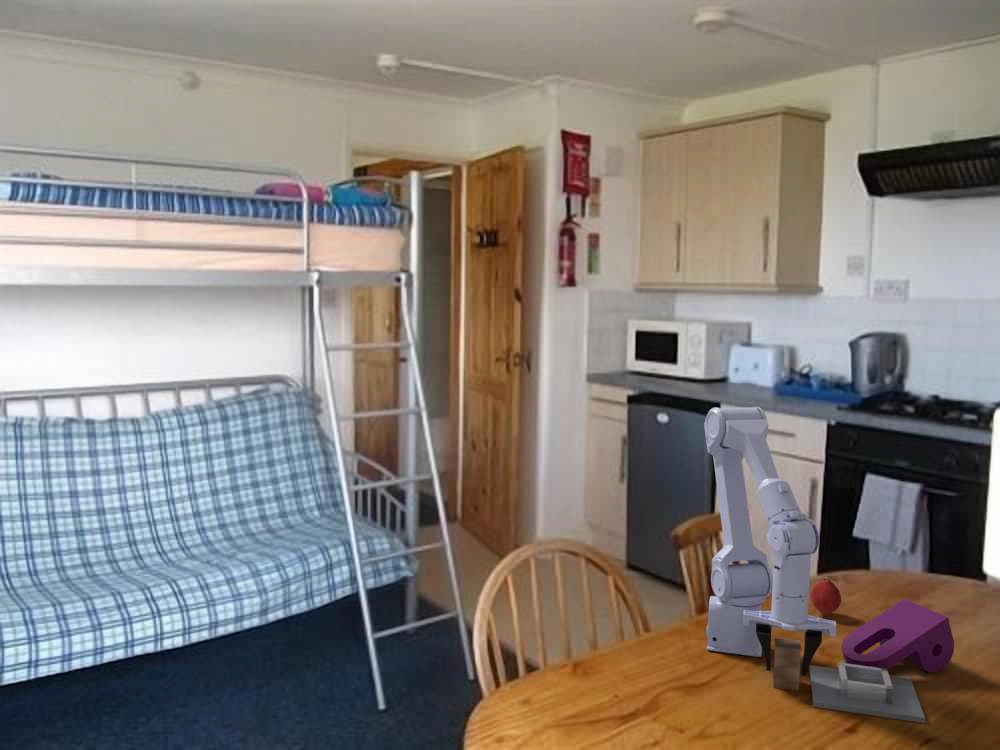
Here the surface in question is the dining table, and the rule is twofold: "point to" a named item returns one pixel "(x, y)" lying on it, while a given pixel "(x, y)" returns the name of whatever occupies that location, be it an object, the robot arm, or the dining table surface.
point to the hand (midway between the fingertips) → (786, 671)
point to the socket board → (865, 692)
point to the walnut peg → (787, 664)
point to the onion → (825, 597)
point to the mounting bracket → (902, 639)
